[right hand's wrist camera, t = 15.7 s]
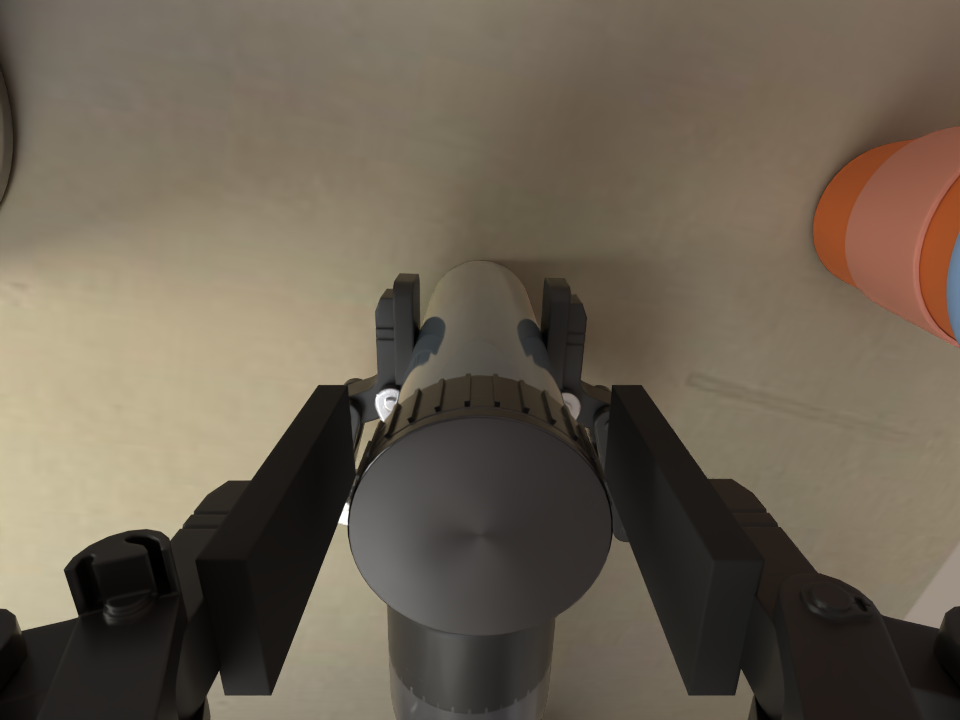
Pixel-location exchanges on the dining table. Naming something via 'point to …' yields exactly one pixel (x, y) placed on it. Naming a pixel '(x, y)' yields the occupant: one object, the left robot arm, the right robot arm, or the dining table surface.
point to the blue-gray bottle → (480, 332)
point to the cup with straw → (899, 229)
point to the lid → (480, 507)
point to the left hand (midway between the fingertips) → (481, 282)
